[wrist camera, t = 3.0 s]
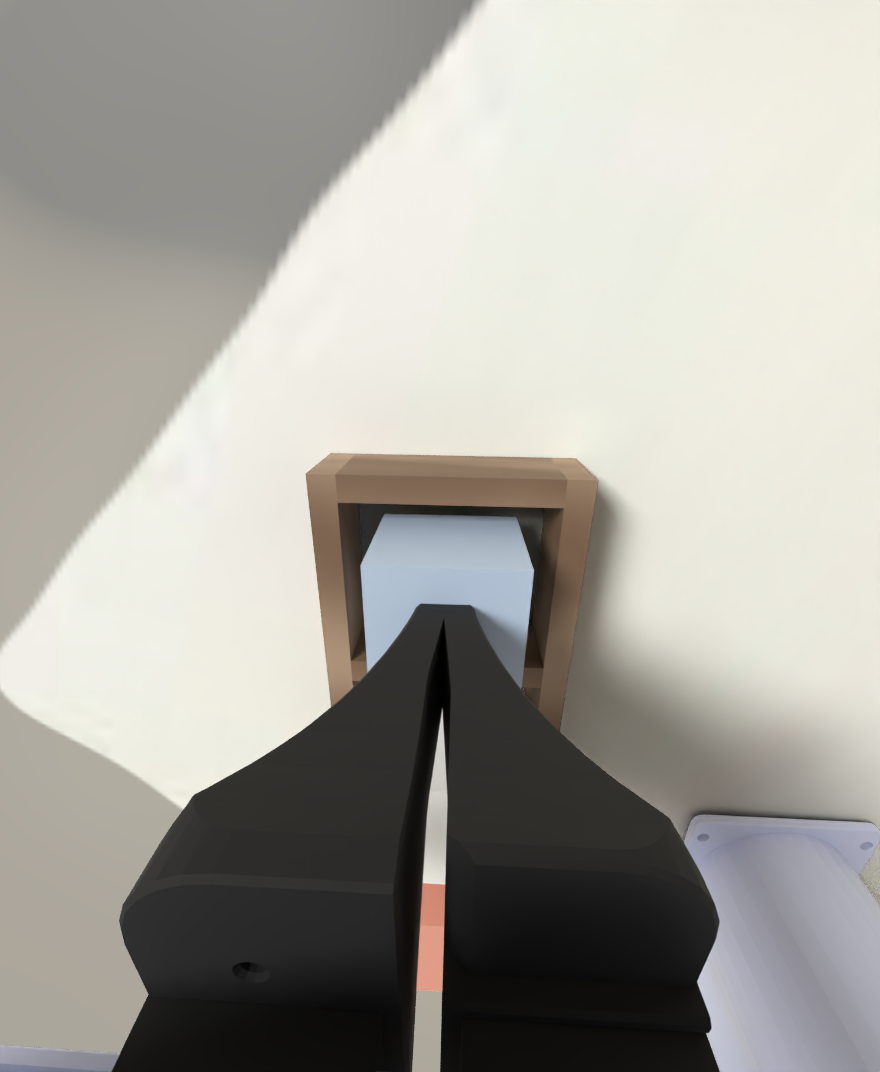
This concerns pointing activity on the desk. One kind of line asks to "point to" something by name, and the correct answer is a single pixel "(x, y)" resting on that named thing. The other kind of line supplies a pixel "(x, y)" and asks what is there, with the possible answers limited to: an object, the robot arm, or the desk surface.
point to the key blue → (449, 579)
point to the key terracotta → (431, 938)
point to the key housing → (456, 484)
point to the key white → (437, 818)
